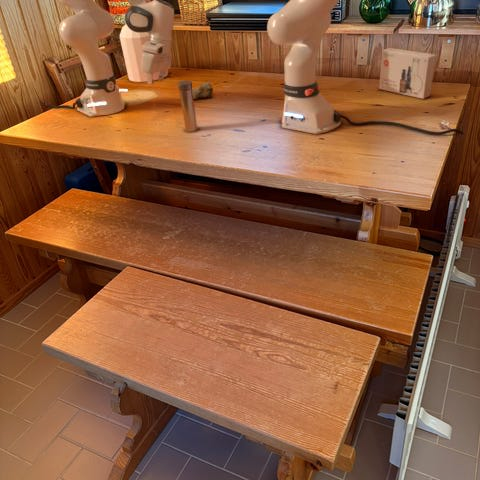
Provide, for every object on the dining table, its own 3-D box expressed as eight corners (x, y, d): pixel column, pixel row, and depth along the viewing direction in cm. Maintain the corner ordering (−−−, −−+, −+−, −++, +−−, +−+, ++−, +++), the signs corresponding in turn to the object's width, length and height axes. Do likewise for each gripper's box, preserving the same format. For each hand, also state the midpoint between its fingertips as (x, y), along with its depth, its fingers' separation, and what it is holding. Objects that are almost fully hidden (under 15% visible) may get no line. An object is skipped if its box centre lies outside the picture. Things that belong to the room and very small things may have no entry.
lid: (179, 91, 164) (178, 85, 163) (178, 87, 168) (177, 81, 167) (193, 89, 164) (192, 83, 163) (191, 85, 168) (190, 79, 167)
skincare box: (377, 89, 194) (381, 50, 185) (385, 86, 197) (389, 47, 188) (423, 99, 180) (429, 56, 171) (430, 95, 183) (437, 53, 174)
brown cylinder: (186, 132, 173) (178, 86, 163) (185, 128, 177) (178, 82, 167) (198, 130, 173) (191, 84, 164) (196, 126, 177) (190, 81, 167)
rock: (187, 97, 210) (190, 100, 202) (185, 83, 208) (188, 85, 199) (210, 94, 212) (214, 97, 204) (208, 80, 210) (212, 82, 201)
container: (160, 81, 233) (149, 21, 217) (121, 82, 238) (108, 23, 222) (174, 69, 249) (165, 13, 233) (138, 70, 254) (126, 15, 238)
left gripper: (163, 43, 191) (159, 77, 197) (140, 45, 173) (136, 83, 179) (177, 47, 189) (172, 81, 196) (155, 49, 172) (151, 87, 178)
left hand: (155, 82), depth 188 cm, fingers open, 8 cm apart
